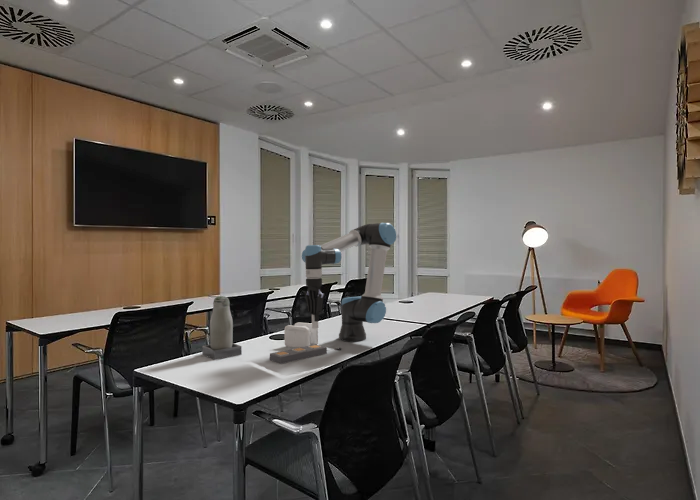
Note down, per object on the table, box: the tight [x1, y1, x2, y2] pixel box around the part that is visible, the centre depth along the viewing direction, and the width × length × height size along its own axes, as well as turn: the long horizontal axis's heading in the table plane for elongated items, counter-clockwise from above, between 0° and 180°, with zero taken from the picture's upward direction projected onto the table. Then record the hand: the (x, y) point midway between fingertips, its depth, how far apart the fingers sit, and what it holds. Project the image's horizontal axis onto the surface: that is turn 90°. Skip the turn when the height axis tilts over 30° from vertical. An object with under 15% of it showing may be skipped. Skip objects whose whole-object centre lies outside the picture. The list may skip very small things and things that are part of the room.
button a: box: [308, 344, 322, 349], centre depth 201 cm, size 4×4×3 cm
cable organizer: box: [284, 322, 319, 348], centre depth 217 cm, size 15×11×12 cm
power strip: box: [269, 344, 342, 365], centre depth 199 cm, size 37×9×4 cm, turn 131°
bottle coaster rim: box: [201, 342, 243, 361], centre depth 205 cm, size 14×14×4 cm
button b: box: [291, 347, 306, 352], centre depth 195 cm, size 4×4×3 cm
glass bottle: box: [209, 295, 234, 350], centre depth 205 cm, size 10×10×28 cm
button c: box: [274, 351, 289, 356], centre depth 189 cm, size 4×4×3 cm
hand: (315, 327), depth 201 cm, fingers closed
